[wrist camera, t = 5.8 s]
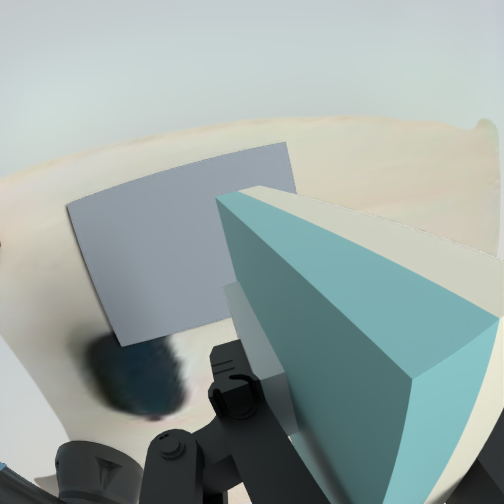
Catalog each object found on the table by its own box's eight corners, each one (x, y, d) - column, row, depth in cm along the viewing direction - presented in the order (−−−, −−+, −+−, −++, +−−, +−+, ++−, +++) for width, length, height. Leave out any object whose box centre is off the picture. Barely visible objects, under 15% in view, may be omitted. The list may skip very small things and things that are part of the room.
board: (263, 375, 16) (354, 569, 5) (214, 197, 13) (412, 380, 2) (297, 364, 16) (409, 542, 5) (259, 185, 13) (544, 277, 2)
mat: (122, 343, 30) (121, 346, 30) (68, 203, 25) (66, 204, 25) (311, 287, 33) (313, 290, 33) (283, 142, 29) (285, 141, 28)
